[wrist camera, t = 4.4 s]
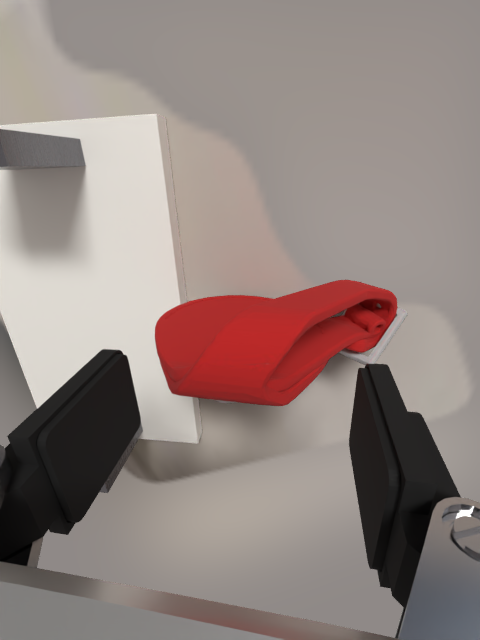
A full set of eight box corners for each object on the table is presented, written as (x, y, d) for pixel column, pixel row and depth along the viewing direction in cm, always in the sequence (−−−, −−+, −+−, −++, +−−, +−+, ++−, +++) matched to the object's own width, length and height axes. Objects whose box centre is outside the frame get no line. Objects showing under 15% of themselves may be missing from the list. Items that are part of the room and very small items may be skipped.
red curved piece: (187, 317, 21) (104, 430, 12) (184, 246, 19) (84, 315, 10) (390, 336, 19) (475, 482, 10) (408, 261, 17) (534, 358, 8)
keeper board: (165, 117, 16) (97, 91, 10) (202, 431, 24) (175, 509, 19) (-46, 132, 18) (-200, 117, 12) (55, 420, 26) (-9, 488, 21)
